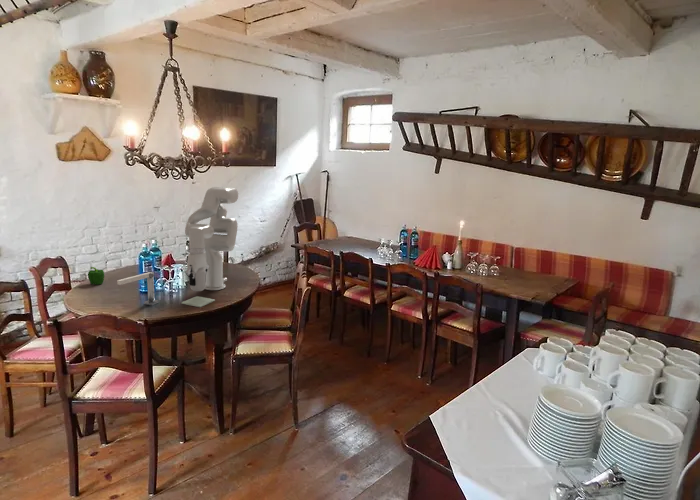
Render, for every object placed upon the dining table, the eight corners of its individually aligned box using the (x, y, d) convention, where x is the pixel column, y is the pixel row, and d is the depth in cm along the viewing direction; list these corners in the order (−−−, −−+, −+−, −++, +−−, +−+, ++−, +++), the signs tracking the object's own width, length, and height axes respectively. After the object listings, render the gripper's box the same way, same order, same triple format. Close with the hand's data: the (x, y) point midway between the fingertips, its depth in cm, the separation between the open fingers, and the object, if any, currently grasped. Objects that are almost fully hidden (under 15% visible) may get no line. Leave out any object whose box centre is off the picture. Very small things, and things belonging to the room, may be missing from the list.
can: (207, 287, 240) (207, 265, 238) (203, 291, 233) (203, 269, 230) (193, 287, 240) (192, 265, 237) (188, 291, 232) (188, 268, 230)
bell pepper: (108, 282, 264) (107, 265, 262) (99, 286, 256) (98, 269, 254) (94, 281, 264) (93, 264, 262) (85, 285, 256) (84, 268, 254)
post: (151, 301, 236) (150, 275, 233) (159, 302, 234) (157, 276, 231) (144, 304, 231) (142, 277, 228) (151, 305, 229) (150, 279, 226)
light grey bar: (150, 274, 232) (150, 271, 231) (155, 276, 230) (155, 272, 230) (116, 284, 214) (115, 280, 214) (121, 285, 213) (121, 281, 212)
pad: (196, 297, 245) (196, 296, 245) (215, 300, 241) (215, 299, 241) (181, 303, 234) (181, 302, 234) (200, 307, 230) (200, 306, 230)
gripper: (202, 246, 241) (203, 278, 245) (179, 252, 225) (180, 286, 229) (214, 248, 239) (214, 280, 242) (191, 254, 223) (192, 288, 226)
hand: (197, 283), depth 235 cm, fingers closed on can, 7 cm apart
